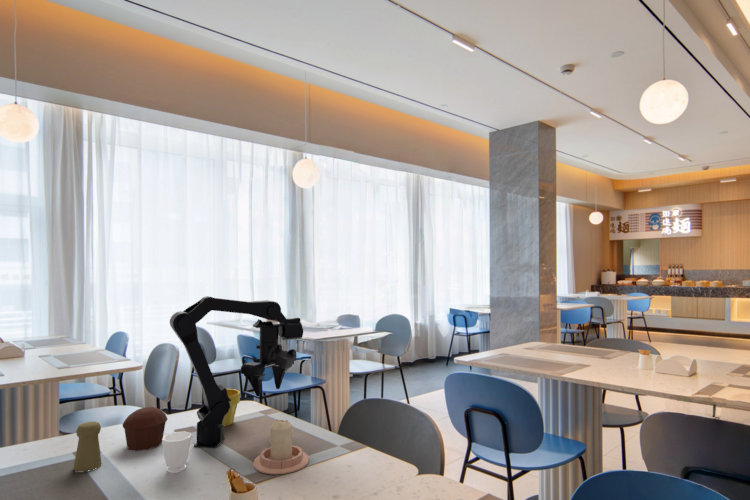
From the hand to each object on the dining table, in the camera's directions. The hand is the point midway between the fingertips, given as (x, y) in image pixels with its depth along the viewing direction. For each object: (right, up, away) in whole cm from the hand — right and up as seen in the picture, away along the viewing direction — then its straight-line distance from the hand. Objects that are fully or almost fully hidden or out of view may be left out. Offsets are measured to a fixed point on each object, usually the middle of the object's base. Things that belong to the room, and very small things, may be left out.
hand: (268, 392), depth 138 cm
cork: (-40, -11, -25) cm, 48 cm away
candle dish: (+9, -11, -22) cm, 26 cm away
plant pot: (-16, -13, +7) cm, 22 cm away
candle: (+9, -11, -22) cm, 26 cm away
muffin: (-33, -12, -11) cm, 36 cm away
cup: (-16, -11, -25) cm, 32 cm away
